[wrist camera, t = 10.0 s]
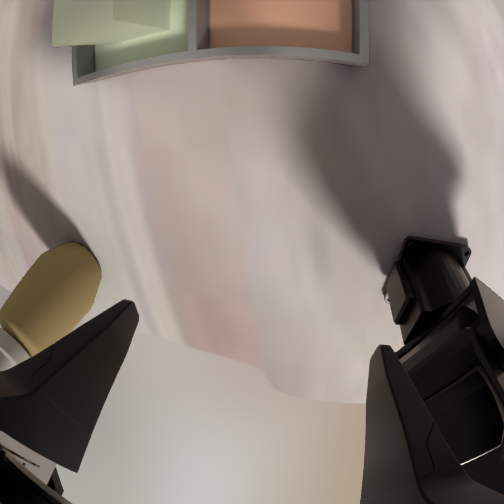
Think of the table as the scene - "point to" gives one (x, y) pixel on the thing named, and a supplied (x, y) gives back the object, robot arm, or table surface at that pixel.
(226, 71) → the table surface
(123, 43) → the board
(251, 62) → the table surface
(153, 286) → the table surface
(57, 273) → the squeeze bottle
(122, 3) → the sage block
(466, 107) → the table surface
